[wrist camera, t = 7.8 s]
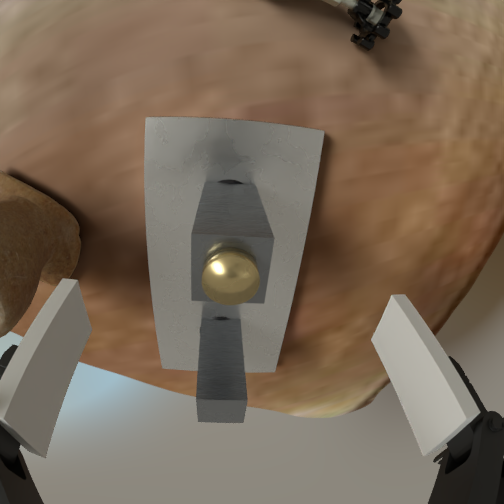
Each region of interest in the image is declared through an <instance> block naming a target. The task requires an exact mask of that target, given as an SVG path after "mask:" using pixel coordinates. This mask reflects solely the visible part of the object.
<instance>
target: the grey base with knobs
mask: <svg viewBox="0 0 504 504" xmlns="http://www.w3.org/2000/svg"><path fill="white" fill-rule="evenodd" d="M324 132H325V131H322V130H319V129H313V128H307V127H301V126H294V125H286V124H279V123H271V122H262V121H252V120H240V119H227V118H210V117H174V116H162V117H146V123H145V158H144V183H145V219H146V238H147V252H148V265H149V276H150V286H151V295H152V304H153V312H154V319H155V326H156V333H157V340H158V346H159V352H160V358H161V364H162V368H165V369H177V370H191V371H198V375H197V394H196V402H197V414H198V422H217V423H243V422H244V416H245V411H246V406H247V389H246V378H245V372H275V370H276V366H277V362H278V358H279V354H280V350H281V346H282V342H283V338H284V334H285V330H286V326H287V322H288V318H289V313H290V309H291V305H292V300H293V296H294V292H295V287H296V283H297V278H298V274H299V269H300V264H301V259H302V255H303V250H304V245H305V240H306V235H307V230H308V225H309V220H310V214H311V209H312V204H313V198H314V193H315V187H316V181H317V175H318V169H319V163H320V157H321V151H322V145H323V138H324ZM205 182H219V183H235V184H249V185H256V187H257V190H258V193H259V195H260V198H261V201H262V204H263V207H264V210H265V212H266V215H267V218H268V221H269V224H270V227H271V229H272V232H273V235H274V238H275V239H274V245H273V252H272V258H271V265H270V271H269V277H268V284H267V290H266V296H265V302H264V304H259V303H242V304H238V305H223V304H219V303H217V302H207V301H191V233H192V229H193V225H194V221H195V217H196V213H197V209H198V205H199V202H200V198H201V194H202V191H203V187H204V183H205Z"/></svg>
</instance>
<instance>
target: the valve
mask: <svg viewBox="0 0 504 504" xmlns="http://www.w3.org/2000/svg"><path fill="white" fill-rule="evenodd" d="M322 1H324V2H327V3H329V4H331V5H333V6H338V5H339V4H341V5H343V6H345V7H347V8H348V12H347V13H348V14H349V15H350V16H351V17H352V19H354V20H355V23H354V27H356V28H357V29H359V34H360V35H359V36H357V35H355V34H353V35H352V37H351V42H353V43H355V44H357V45H358V46H360V47H362V48H364V49H365V50H367V51H369V50H371V49H372V47H373V46H374V43H375V42H374V40H375V38H376V37H377V36H378V37H379V38H381V39H385V38H386V37H387V36H388V35H389V33H390V29H389V28H388V27H387V26H388V24H389V23H390V21H391V20H392V19H397V18H399V17H400V16H401V14H402V9H401V8H399V7H398V6H396V5H397V4H399V3H400V2H401V0H378V1H377V2H376V3H375V4H374V3H373V2H371V0H322ZM384 7H385V9H384V12H383V11H381V9H383V8H384Z"/></svg>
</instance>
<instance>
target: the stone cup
mask: <svg viewBox="0 0 504 504" xmlns="http://www.w3.org/2000/svg"><path fill="white" fill-rule="evenodd" d="M79 230H80V228H79V224H78V222H77V221H76V219H75V217H74V216H73V215H72V214H71V213H70V212H69V211H68V210H67V209H65V208H64V207H63V206H61V205H60V204H59V203H57V202H56V201H55V200H53V199H52V198H50V197H49V196H47V195H45V194H44V193H42V192H40V191H38V190H36V189H34V188H32V187H31V186H29V185H27V184H25V183H23V182H21V181H19V180H17V179H15V178H14V177H12V176H10V175H8V174H6V173H5V172H3V171H1V170H0V337H2V336H4V335H6V334H7V333H8V332H9V331H11V330H12V328H13V327H14V326H15V325H16V324H17V323H18V321H19V320H20V319H21V318H22V316H23V315H24V313H25V312H26V311H27V309H28V307H29V306H30V304H31V302H32V300H33V297H34V295H35V293H36V290H37V287H38V284H39V280H40V281H42V282H44V283H47V284H50V285H53V286H58V284H59V283H60V281H61V280H62V279H63V278H65V279H69V278H70V276H71V275H72V273H73V271H74V270H75V268H76V266H77V263H78V259H79V255H80V250H81V240H80V238H79Z"/></svg>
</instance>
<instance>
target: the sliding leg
mask: <svg viewBox="0 0 504 504" xmlns="http://www.w3.org/2000/svg"><path fill="white" fill-rule="evenodd" d="M274 239H275V238H274V235H273V232H272V229H271V227H270V224H269V221H268V218H267V215H266V212H265V210H264V207H263V204H262V201H261V198H260V195H259V193H258V190H257V187H256V185H249V184H235V183H219V182H205V183H204V187H203V191H202V194H201V198H200V202H199V205H198V209H197V213H196V217H195V221H194V225H193V229H192V233H191V301H207V302H217V303H219V304H223V305H238V304H242V303H259V304H264V302H265V296H266V290H267V284H268V277H269V271H270V265H271V258H272V252H273V245H274Z"/></svg>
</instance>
